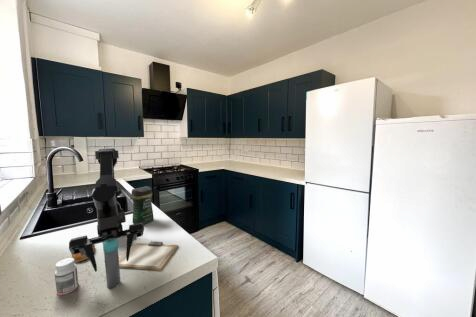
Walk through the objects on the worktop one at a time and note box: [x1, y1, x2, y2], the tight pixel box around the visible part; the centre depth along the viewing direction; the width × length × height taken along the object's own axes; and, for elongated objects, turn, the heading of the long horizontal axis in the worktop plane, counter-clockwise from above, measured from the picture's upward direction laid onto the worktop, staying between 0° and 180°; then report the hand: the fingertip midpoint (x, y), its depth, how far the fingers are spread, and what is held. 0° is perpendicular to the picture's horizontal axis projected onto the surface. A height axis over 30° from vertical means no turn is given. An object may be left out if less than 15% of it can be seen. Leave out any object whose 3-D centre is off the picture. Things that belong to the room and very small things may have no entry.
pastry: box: [71, 244, 96, 263], centre depth 72 cm, size 9×7×4 cm
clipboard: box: [119, 240, 179, 272], centre depth 71 cm, size 18×14×2 cm
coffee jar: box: [130, 185, 155, 225], centre depth 100 cm, size 10×8×19 cm
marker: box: [102, 238, 121, 289], centre depth 57 cm, size 4×4×14 cm
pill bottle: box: [54, 257, 79, 296], centre depth 55 cm, size 5×5×8 cm
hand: (112, 265), depth 56 cm, fingers open, 7 cm apart
